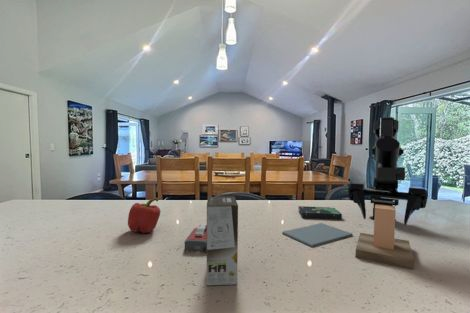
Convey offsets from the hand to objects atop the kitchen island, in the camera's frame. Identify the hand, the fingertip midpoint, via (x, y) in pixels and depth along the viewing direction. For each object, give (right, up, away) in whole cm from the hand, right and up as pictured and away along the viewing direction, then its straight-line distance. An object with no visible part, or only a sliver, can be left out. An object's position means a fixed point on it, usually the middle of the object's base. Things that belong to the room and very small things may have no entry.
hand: (384, 221), depth 67 cm
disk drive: (-6, -7, +35) cm, 36 cm away
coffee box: (-42, -9, -12) cm, 45 cm away
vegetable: (-68, -7, +15) cm, 70 cm away
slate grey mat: (-13, -7, +13) cm, 20 cm away
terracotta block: (0, -6, 0) cm, 6 cm away
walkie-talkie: (-48, -8, +8) cm, 49 cm away
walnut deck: (0, -8, 0) cm, 8 cm away
